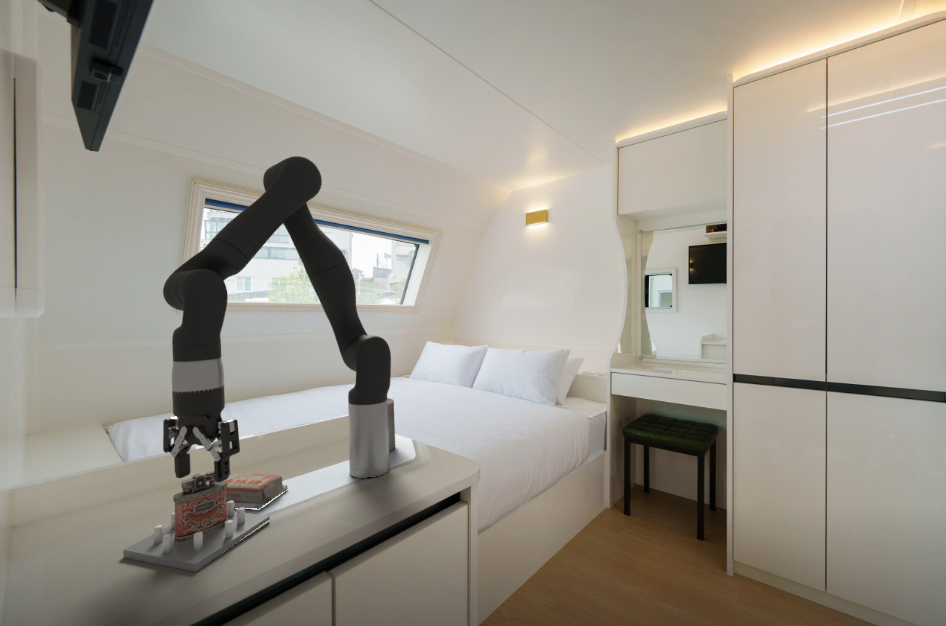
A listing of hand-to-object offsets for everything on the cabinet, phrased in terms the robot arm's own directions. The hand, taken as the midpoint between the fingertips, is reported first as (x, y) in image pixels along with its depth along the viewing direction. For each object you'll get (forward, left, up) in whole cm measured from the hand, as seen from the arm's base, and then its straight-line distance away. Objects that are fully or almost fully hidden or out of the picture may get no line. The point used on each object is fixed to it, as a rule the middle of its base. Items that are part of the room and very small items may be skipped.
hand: (202, 478), depth 72 cm
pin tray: (0, 0, -11) cm, 11 cm away
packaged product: (-15, -8, -11) cm, 20 cm away
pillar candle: (-49, +7, -11) cm, 50 cm away
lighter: (0, 0, -10) cm, 10 cm away
